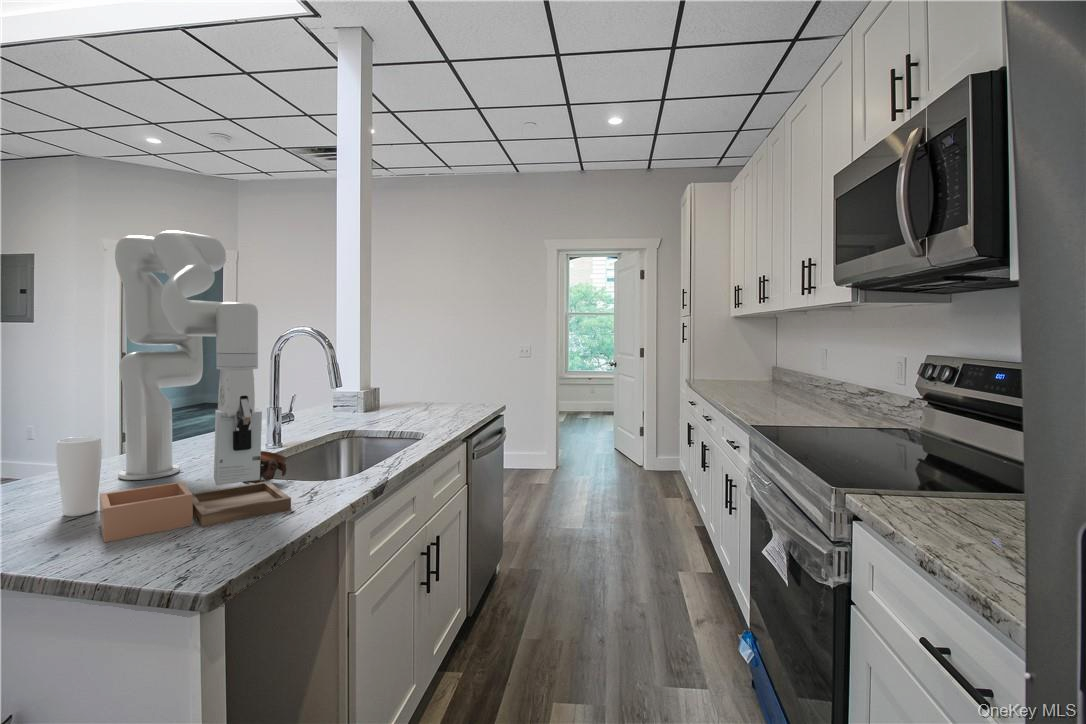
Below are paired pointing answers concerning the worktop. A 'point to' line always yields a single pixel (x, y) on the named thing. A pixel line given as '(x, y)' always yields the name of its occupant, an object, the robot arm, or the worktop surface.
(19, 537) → the worktop surface
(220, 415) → the skincare box
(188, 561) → the worktop surface
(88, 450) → the drinking glass
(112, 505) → the open rectangular tray
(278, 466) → the brown irregular lump
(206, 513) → the walnut tray
